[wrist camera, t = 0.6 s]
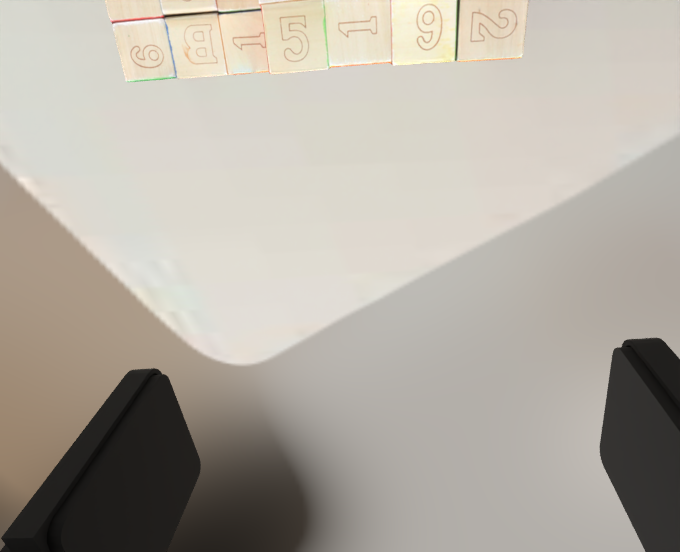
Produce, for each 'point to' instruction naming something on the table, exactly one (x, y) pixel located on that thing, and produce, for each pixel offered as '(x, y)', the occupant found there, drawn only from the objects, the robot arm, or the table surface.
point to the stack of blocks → (308, 34)
